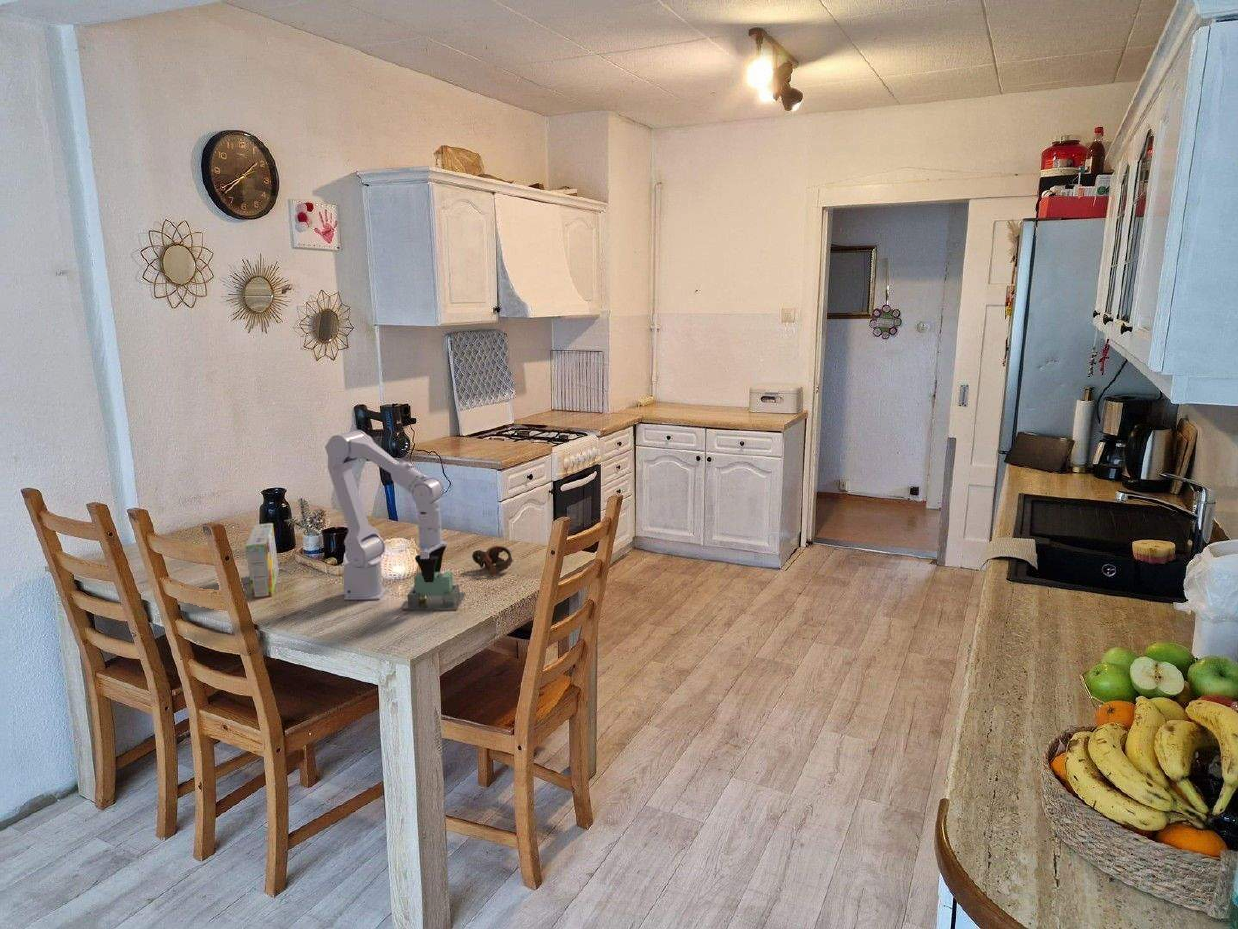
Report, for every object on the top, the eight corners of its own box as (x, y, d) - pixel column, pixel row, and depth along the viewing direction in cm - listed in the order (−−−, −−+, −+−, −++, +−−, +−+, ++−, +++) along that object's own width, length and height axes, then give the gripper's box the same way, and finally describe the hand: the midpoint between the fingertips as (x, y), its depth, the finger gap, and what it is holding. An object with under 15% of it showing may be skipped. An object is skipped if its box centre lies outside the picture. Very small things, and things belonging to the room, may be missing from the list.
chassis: (402, 610, 204) (401, 597, 203) (413, 595, 215) (412, 582, 214) (457, 610, 204) (456, 597, 203) (465, 594, 215) (464, 582, 214)
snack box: (259, 574, 233) (253, 524, 230) (279, 572, 235) (274, 522, 232) (250, 599, 214) (244, 545, 210) (273, 596, 215) (267, 542, 212)
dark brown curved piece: (513, 565, 240) (517, 546, 234) (506, 588, 232) (509, 569, 227) (473, 556, 239) (476, 536, 234) (465, 579, 232) (468, 559, 227)
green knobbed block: (415, 595, 207) (413, 574, 206) (419, 590, 211) (417, 569, 210) (449, 595, 207) (448, 574, 206) (453, 590, 211) (452, 569, 210)
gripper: (439, 534, 198) (441, 586, 201) (451, 518, 212) (453, 567, 215) (410, 534, 198) (413, 586, 201) (424, 518, 212) (427, 567, 215)
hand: (432, 576), depth 208 cm, fingers open, 7 cm apart
